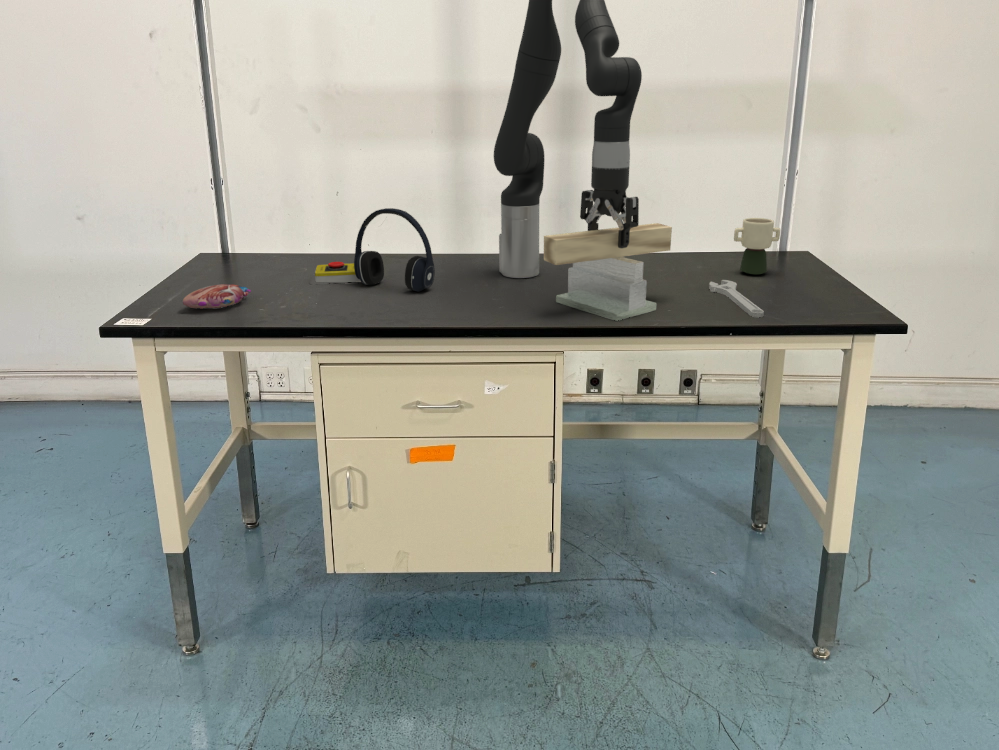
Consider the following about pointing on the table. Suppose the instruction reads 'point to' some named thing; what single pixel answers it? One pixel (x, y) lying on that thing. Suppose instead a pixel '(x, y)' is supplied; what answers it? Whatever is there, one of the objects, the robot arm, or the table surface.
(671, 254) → the table surface
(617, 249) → the pine rod
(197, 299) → the anatomical model
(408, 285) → the headphones
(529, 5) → the robot arm
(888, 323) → the table surface
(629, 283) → the stand
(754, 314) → the adjustable wrench
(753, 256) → the trophy cup
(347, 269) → the emergency button
